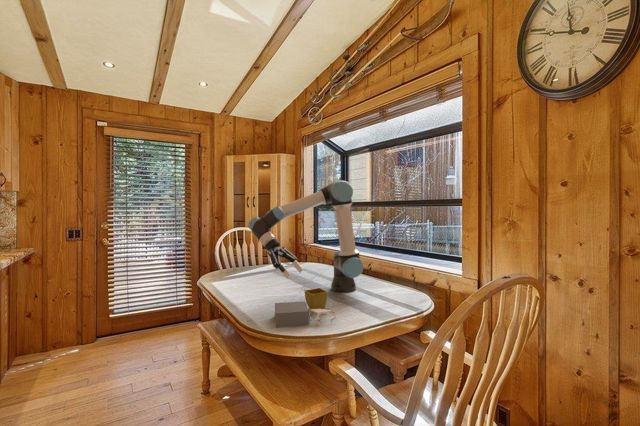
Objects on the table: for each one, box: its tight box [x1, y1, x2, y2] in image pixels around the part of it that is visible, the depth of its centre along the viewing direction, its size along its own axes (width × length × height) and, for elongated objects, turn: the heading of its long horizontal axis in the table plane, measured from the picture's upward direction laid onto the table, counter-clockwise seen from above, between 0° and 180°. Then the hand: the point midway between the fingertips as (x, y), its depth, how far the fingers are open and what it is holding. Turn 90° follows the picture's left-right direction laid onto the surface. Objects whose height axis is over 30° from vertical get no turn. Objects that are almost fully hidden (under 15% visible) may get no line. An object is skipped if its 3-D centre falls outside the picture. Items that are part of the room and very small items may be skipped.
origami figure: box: [308, 308, 337, 326], centre depth 136 cm, size 12×8×5 cm
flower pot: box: [303, 287, 329, 310], centre depth 152 cm, size 9×9×9 cm
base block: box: [274, 300, 310, 328], centre depth 137 cm, size 14×14×6 cm
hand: (295, 273), depth 156 cm, fingers open, 13 cm apart
